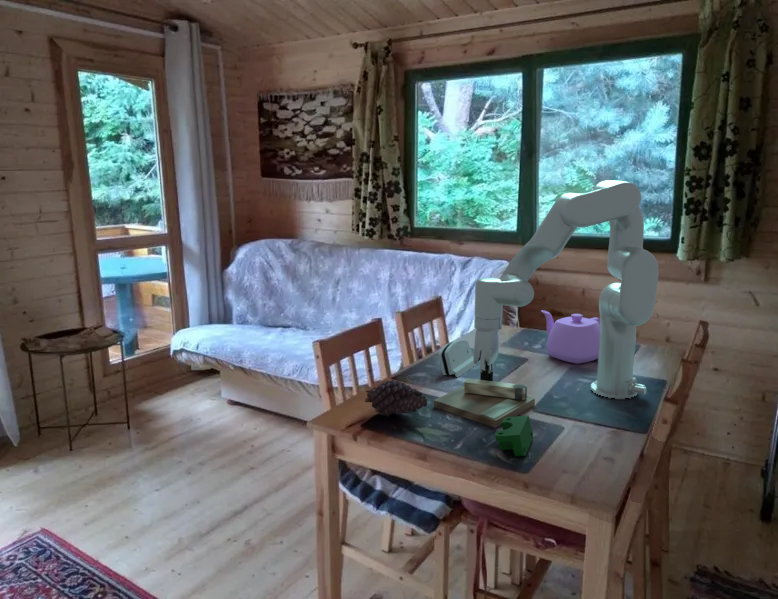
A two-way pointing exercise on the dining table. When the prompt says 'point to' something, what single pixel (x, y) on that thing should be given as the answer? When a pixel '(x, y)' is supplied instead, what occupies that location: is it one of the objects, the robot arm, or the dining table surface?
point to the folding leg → (496, 389)
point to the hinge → (456, 358)
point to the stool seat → (482, 406)
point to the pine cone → (395, 398)
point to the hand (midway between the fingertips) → (486, 384)
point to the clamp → (515, 434)
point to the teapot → (573, 338)
